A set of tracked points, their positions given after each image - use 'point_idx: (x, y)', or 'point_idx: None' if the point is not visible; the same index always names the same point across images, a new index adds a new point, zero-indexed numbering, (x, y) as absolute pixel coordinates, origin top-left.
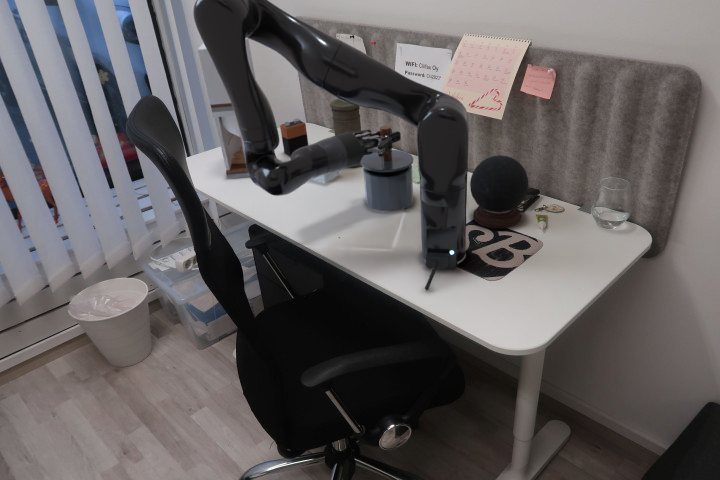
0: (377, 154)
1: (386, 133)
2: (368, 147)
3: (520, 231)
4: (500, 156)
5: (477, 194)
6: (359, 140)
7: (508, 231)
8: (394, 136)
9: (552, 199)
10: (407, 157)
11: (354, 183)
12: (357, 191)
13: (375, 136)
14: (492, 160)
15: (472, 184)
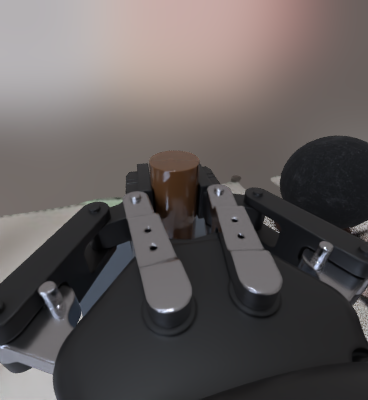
0: (115, 268)
1: (198, 181)
2: (359, 321)
3: (359, 227)
4: (342, 137)
5: (361, 213)
6: (207, 316)
7: (359, 237)
8: (217, 180)
9: (276, 177)
10: (197, 221)
11: (4, 367)
12: (51, 389)
13: (232, 218)
14: (355, 146)
15: (346, 202)
